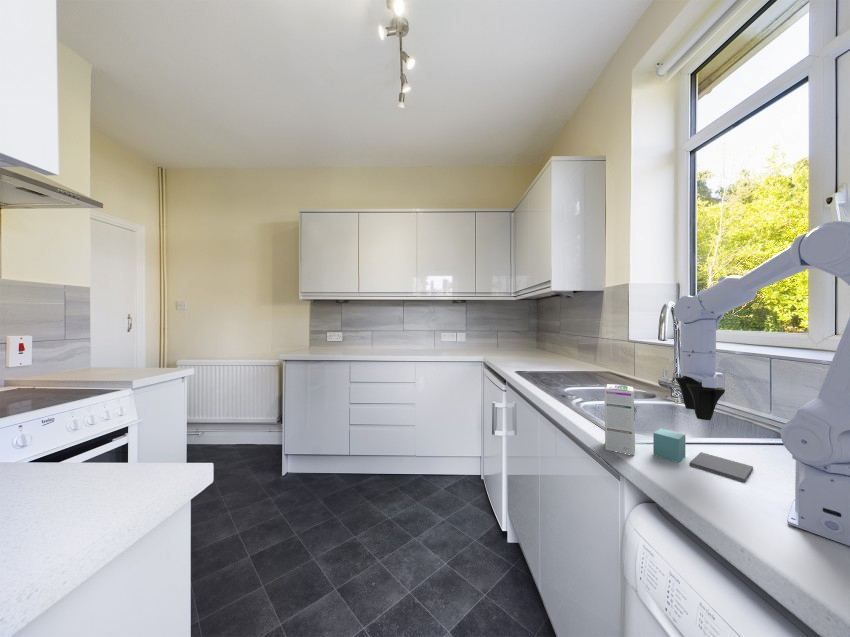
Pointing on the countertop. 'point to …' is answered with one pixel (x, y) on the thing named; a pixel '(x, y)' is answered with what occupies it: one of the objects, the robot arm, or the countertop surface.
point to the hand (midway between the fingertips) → (697, 413)
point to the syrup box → (619, 418)
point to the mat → (722, 466)
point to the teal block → (669, 444)
